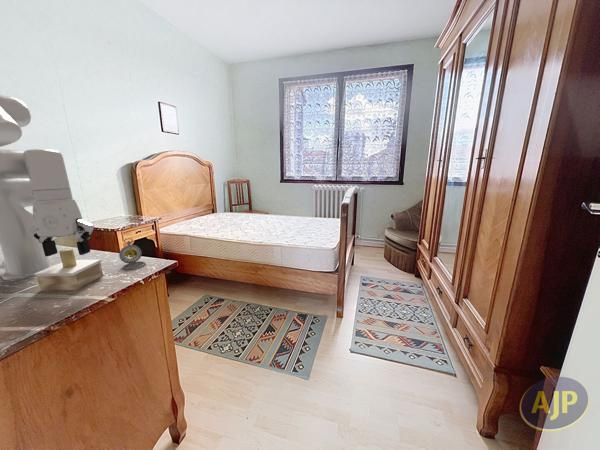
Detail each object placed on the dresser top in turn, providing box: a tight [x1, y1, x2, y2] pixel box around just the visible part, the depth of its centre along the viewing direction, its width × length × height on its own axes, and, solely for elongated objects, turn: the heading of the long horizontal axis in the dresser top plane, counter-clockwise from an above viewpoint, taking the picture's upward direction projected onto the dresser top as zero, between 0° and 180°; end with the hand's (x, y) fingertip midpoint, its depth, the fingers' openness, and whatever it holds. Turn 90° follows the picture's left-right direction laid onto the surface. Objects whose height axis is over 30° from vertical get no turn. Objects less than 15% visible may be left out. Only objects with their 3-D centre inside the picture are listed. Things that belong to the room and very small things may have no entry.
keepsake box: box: [36, 262, 104, 292], centre depth 74 cm, size 10×10×5 cm
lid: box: [34, 248, 102, 277], centre depth 73 cm, size 10×10×6 cm
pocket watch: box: [118, 237, 146, 271], centre depth 86 cm, size 8×8×10 cm
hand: (68, 254), depth 72 cm, fingers open, 9 cm apart
